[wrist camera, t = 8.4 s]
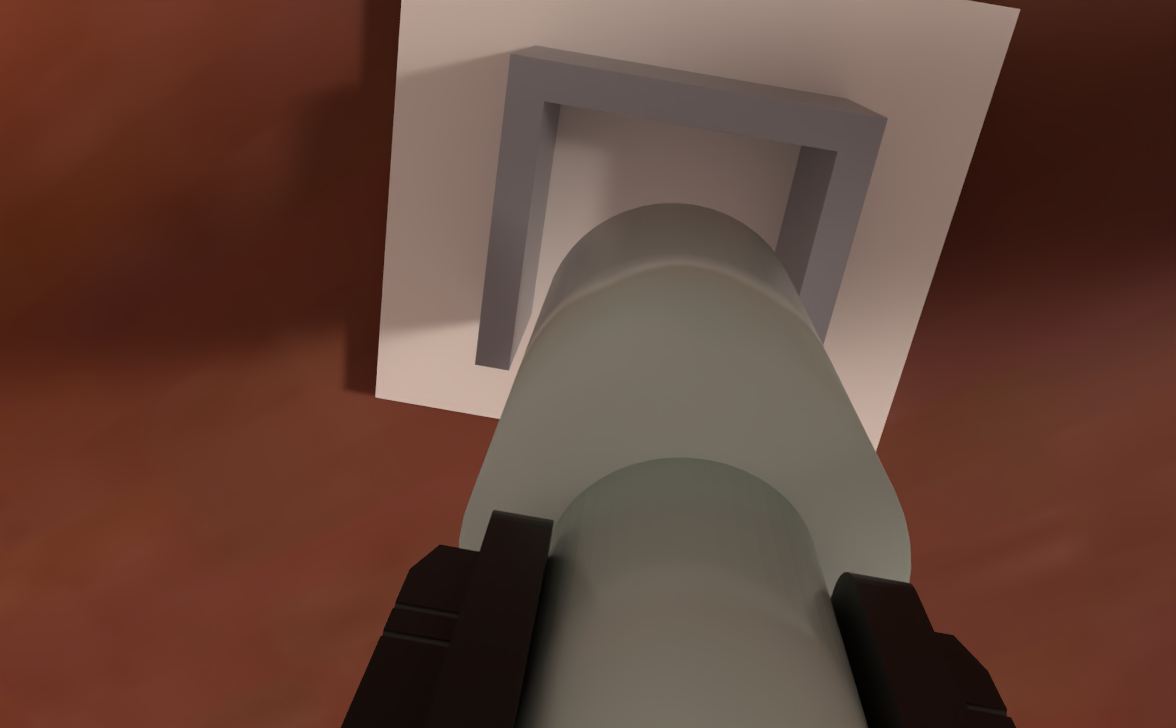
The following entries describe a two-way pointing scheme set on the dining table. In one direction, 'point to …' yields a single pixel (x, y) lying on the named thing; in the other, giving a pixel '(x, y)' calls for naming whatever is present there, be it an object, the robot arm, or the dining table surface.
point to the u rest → (673, 164)
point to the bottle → (687, 487)
